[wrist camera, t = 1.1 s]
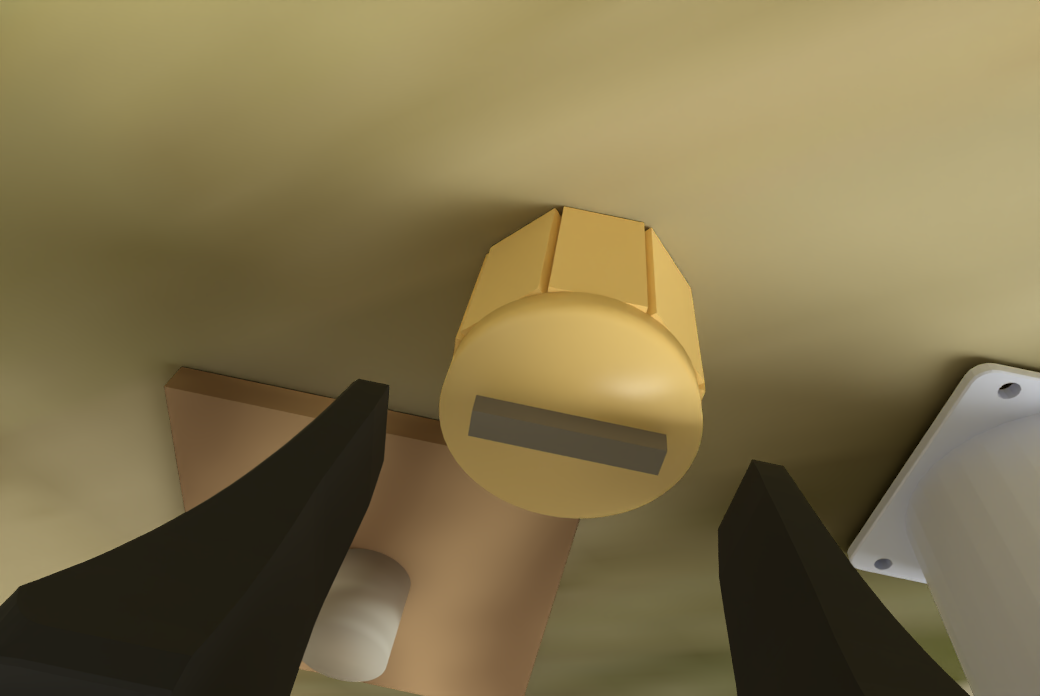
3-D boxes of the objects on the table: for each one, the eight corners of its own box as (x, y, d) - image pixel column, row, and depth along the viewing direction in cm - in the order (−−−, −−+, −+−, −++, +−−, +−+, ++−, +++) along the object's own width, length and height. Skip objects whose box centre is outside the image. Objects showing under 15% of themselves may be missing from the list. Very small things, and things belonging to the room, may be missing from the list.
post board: (594, 453, 22) (588, 558, 18) (520, 692, 30) (507, 794, 26) (181, 366, 22) (102, 455, 19) (219, 627, 30) (169, 721, 27)
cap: (715, 235, 17) (745, 364, 13) (654, 406, 20) (661, 556, 16) (494, 190, 17) (447, 302, 13) (467, 367, 20) (423, 506, 16)
